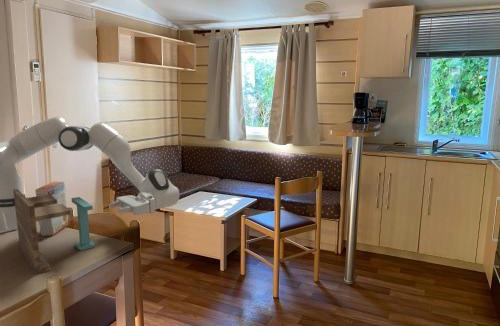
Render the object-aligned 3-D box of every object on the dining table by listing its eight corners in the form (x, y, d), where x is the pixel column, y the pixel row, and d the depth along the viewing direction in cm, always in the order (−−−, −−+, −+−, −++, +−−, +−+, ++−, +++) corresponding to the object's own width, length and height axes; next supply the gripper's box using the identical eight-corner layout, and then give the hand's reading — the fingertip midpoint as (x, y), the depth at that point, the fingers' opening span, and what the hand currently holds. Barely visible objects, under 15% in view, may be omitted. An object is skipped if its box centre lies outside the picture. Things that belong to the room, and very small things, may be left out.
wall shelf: (54, 241, 160) (48, 184, 156) (75, 263, 139) (69, 199, 135) (20, 248, 153) (13, 189, 148) (36, 274, 131) (29, 206, 127)
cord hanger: (86, 238, 163) (82, 196, 160) (99, 250, 151) (96, 204, 148) (71, 242, 159) (67, 198, 156) (83, 254, 147) (80, 207, 144)
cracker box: (56, 225, 180) (52, 181, 176) (69, 225, 179) (65, 181, 176) (39, 236, 166) (34, 188, 162) (53, 236, 166) (48, 189, 162)
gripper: (134, 190, 176) (104, 196, 168) (155, 199, 161) (123, 206, 152) (135, 203, 178) (105, 210, 169) (156, 214, 162) (124, 221, 153)
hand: (113, 208), depth 160 cm, fingers open, 8 cm apart
